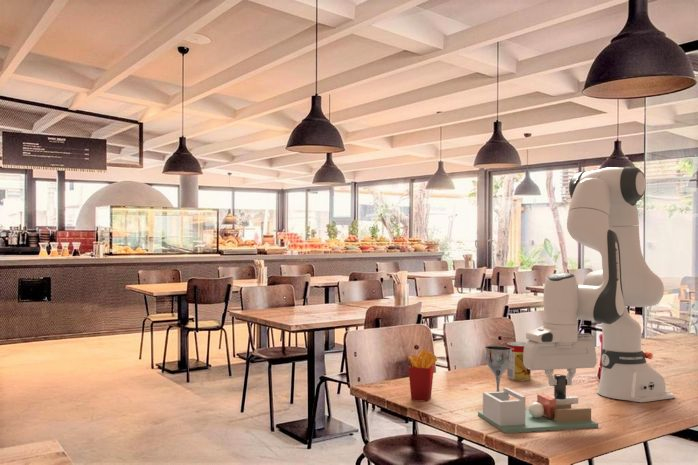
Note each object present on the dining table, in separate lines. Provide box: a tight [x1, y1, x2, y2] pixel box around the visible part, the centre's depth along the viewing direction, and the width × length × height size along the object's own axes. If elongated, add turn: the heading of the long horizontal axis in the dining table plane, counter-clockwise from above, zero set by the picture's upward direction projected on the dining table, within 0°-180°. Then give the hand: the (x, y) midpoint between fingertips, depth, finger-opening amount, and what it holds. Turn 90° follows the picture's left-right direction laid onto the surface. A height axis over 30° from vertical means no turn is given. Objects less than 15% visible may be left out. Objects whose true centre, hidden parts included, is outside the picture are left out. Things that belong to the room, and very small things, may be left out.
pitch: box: [477, 387, 599, 434], centre depth 162 cm, size 26×16×8 cm, turn 103°
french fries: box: [407, 348, 438, 402], centre depth 185 cm, size 9×8×15 cm
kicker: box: [536, 373, 579, 419], centre depth 164 cm, size 10×6×10 cm, turn 103°
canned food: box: [506, 341, 532, 382], centre depth 214 cm, size 8×8×12 cm
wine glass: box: [484, 344, 512, 399], centre depth 188 cm, size 8×8×15 cm
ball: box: [528, 401, 544, 418], centre depth 162 cm, size 4×4×4 cm
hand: (560, 385), depth 164 cm, fingers closed on kicker, 3 cm apart
